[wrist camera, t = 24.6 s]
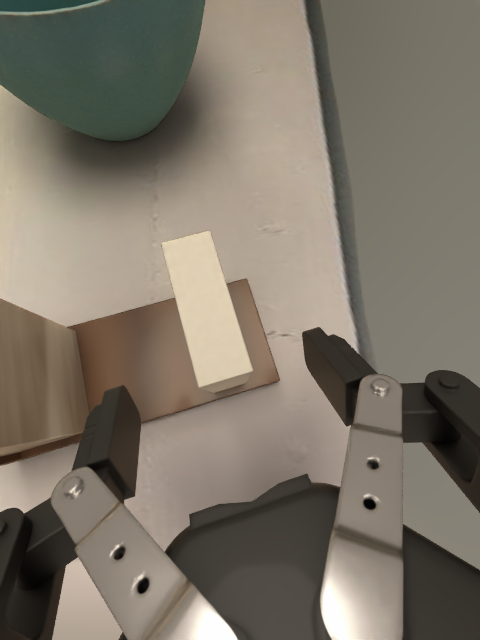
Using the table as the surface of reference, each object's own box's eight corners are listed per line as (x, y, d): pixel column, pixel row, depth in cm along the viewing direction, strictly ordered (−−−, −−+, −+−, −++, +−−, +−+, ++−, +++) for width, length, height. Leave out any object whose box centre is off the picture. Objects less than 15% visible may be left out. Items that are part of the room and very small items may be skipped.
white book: (213, 393, 21) (198, 388, 12) (187, 300, 22) (160, 242, 14) (246, 383, 21) (253, 371, 13) (219, 292, 23) (209, 229, 14)
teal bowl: (232, 48, 30) (230, -176, 19) (201, 201, 26) (173, 31, 14) (57, 27, 31) (-53, -205, 19) (-5, 174, 26) (-203, -14, 14)
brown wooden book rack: (17, 461, 20) (-164, 511, 11) (5, 348, 22) (-156, 311, 13) (278, 381, 22) (309, 366, 13) (246, 282, 24) (253, 209, 15)
